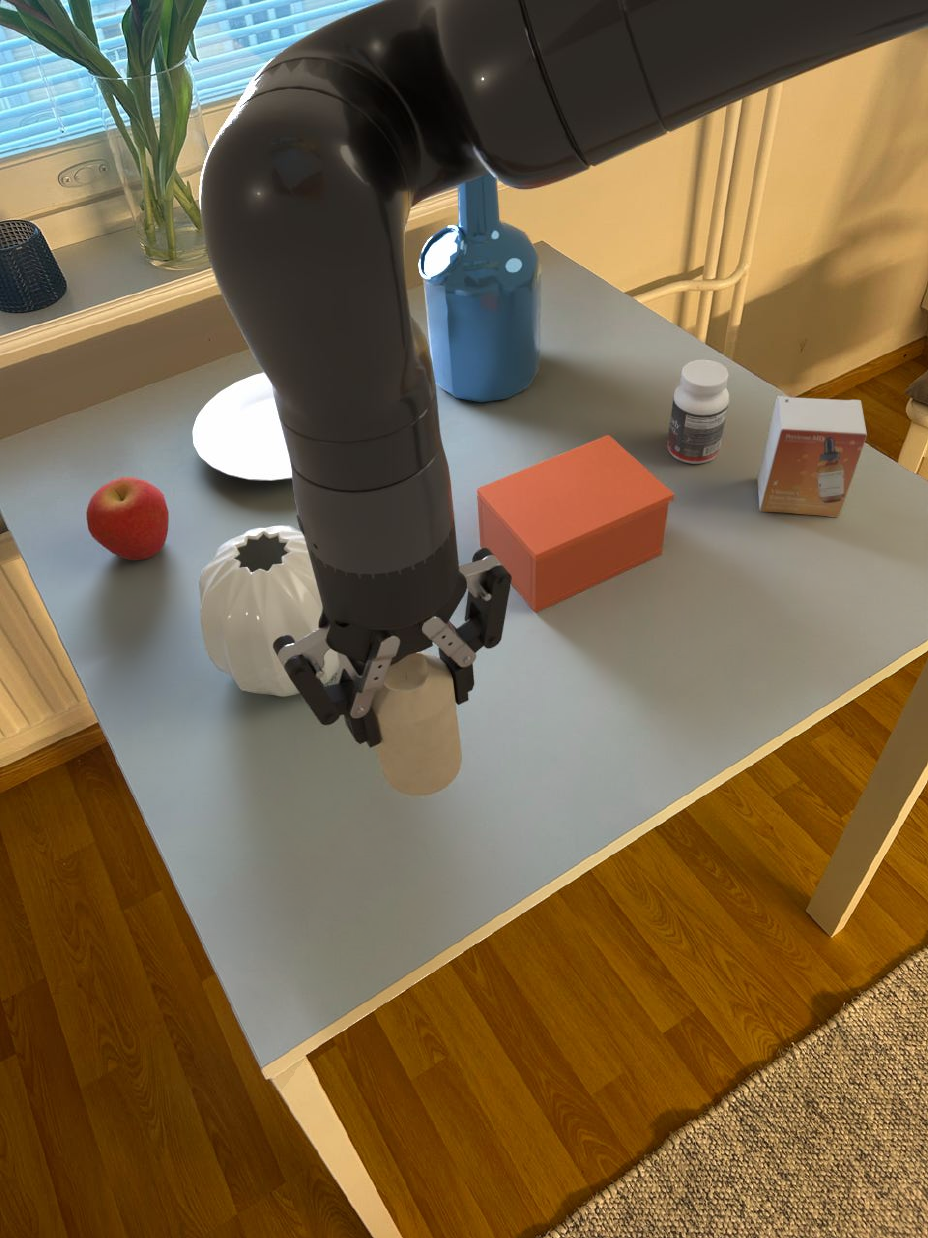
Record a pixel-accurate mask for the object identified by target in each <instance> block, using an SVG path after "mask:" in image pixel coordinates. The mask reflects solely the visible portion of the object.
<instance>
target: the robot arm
mask: <svg viewBox="0 0 928 1238" xmlns="http://www.w3.org/2000/svg"><path fill="white" fill-rule="evenodd" d="M927 28H928V0H381V1H379V2H375V3H374V4H370V5H367V6H365V7H363V8H361V9H359V10H356V11H353V12H351V13H349V14H347V15H345V16H342V17H341V18H338V19H336V20H333V21H331V22H329V23H327V24H325V25H323V26H321V27H320V28H318V29H316V30H314V31H312V32H311V33H309V34H307V35H305V36H304V37H302V38H300V39H299V40H297V41H295V42H294V43H292V44H291V45H289V46H288V47H286V48H285V49H283V50H282V51H281V52H279V53H278V54H277V55H275V56H274V57H273V58H271V59H270V60H269V61H268V62H267V63H265V65H264V66H263V67H261V69H260V70H259V71H258V72H257V73H256V74H255V76H254V77H253V78H252V80H251V81H250V82H249V84H248V85H247V87H246V89H245V90H244V91H243V93H242V95H241V96H240V98H239V101H238V102H237V104H236V105H235V107H234V108H233V110H232V112H231V113H230V115H229V116H228V117H227V119H226V121H225V123H224V124H223V126H222V127H221V128H220V130H219V132H218V133H217V134H216V136H215V139H214V140H213V142H212V144H211V146H210V148H209V150H208V152H207V155H206V157H205V160H204V164H203V167H202V170H201V171H202V172H201V176H200V185H199V210H200V222H201V228H202V233H203V239H204V245H205V249H206V253H207V257H208V262H209V264H210V267H211V271H212V274H213V277H214V279H215V282H216V284H217V287H218V290H219V291H220V293H221V296H222V298H223V300H224V302H225V304H226V306H227V308H228V310H229V312H230V314H231V316H232V318H233V319H234V322H235V323H236V326H237V327H238V329H239V331H240V333H241V334H242V336H243V338H244V340H245V342H246V344H247V346H248V348H249V350H250V352H251V354H252V356H253V357H254V360H255V361H256V362H257V364H258V366H259V367H260V369H261V371H262V373H265V375H266V376H267V378H268V379H269V381H270V383H271V384H272V389H273V395H274V399H275V404H276V408H277V412H278V416H279V420H280V424H281V428H282V431H283V435H284V439H285V443H286V447H287V451H288V455H289V459H290V464H291V471H292V478H291V480H292V483H291V484H292V492H293V493H292V494H293V498H294V503H295V507H296V519H297V523H298V527H299V531H300V532H302V534H303V535H304V538H305V542H306V545H307V549H308V553H309V557H310V560H311V564H312V568H313V572H314V575H315V579H316V583H317V587H318V591H319V594H320V598H321V602H322V607H323V608H322V613H321V616H320V619H319V623H318V627H319V628H318V629H316V630H315V631H313V632H311V633H310V634H308V635H306V636H305V637H303V638H301V639H300V640H298V641H296V642H295V640H294V638H293V637H292V636H290V635H283V636H280V637H279V638H277V639H276V640H275V641H274V643H273V649H274V651H275V653H276V654H277V656H278V658H279V660H280V662H281V663H282V665H283V667H284V669H285V671H286V672H287V674H288V676H289V678H290V680H291V681H292V682H293V684H294V685H295V687H296V688H297V690H298V691H299V692H300V693H299V694H300V695H301V697H302V699H303V700H304V701H305V703H306V704H307V706H308V707H309V709H310V710H311V712H312V713H313V714H314V716H315V717H316V719H317V720H318V721H319V723H320V724H321V725H322V726H329V725H330V726H331V725H332V724H334V723H336V722H337V721H338V720H339V719H340V716H343V718H344V721H345V725H346V726H347V729H348V730H349V732H350V734H351V735H352V737H353V739H354V741H355V742H356V743H358V745H362V744H364V743H366V744H367V745H368V747H369V749H372V748H373V747H375V746H376V745H378V744H380V743H381V741H380V737H379V733H378V728H377V724H376V720H375V716H374V711H373V709H372V708H371V703H372V700H373V697H374V694H375V691H377V690H381V689H382V687H383V684H384V681H385V678H386V675H387V672H388V669H389V666H391V665H393V664H395V663H397V662H399V661H400V660H402V659H403V658H405V657H406V656H408V655H410V654H414V653H417V652H421V651H425V650H428V649H430V648H432V647H434V644H435V645H436V646H437V648H438V655H439V657H438V658H440V659H441V660H442V661H443V662H444V663H445V664H446V665H447V666H448V668H449V670H450V672H451V674H452V678H453V685H454V693H455V702H456V706H457V705H458V706H460V705H462V704H464V703H467V702H468V701H469V692H471V691H473V690H474V686H475V675H474V665H473V663H474V662H475V661H476V660H477V652H478V651H479V650H481V649H482V648H483V647H484V648H485V649H487V650H488V649H493V648H495V647H497V646H498V645H499V644H500V642H501V640H502V639H503V638H502V637H503V631H504V625H505V619H506V616H507V615H506V614H507V608H508V604H509V603H508V602H509V597H510V591H511V590H510V589H511V586H512V584H511V579H512V576H511V574H510V573H509V572H508V571H507V570H506V569H505V567H504V566H503V565H502V563H501V562H500V561H499V560H498V559H497V557H496V556H494V554H493V553H492V552H491V551H490V550H489V549H488V548H479V549H478V550H477V551H476V552H475V553H474V554H473V556H472V559H471V562H469V563H465V564H461V565H460V562H459V561H460V560H459V553H458V542H457V533H456V522H455V521H456V520H455V512H454V511H455V510H454V503H453V492H452V481H451V473H450V468H449V463H448V458H447V455H446V452H445V448H444V444H443V439H442V434H441V425H440V416H439V415H440V414H439V405H438V404H439V403H438V395H437V386H436V384H437V383H436V381H435V377H434V370H433V363H432V359H431V354H430V346H429V343H428V341H427V337H426V335H425V333H424V331H423V330H422V328H421V326H420V324H419V323H418V322H417V321H416V320H415V319H414V318H413V317H412V316H411V310H410V303H409V302H410V301H409V295H408V288H407V275H406V273H407V272H406V251H405V250H406V243H405V242H406V241H405V240H406V229H407V225H408V220H409V216H410V213H411V209H412V208H413V207H415V206H417V205H418V204H419V203H421V202H423V201H424V200H426V199H428V198H430V197H432V196H434V195H436V194H438V193H440V192H443V191H445V190H448V189H451V188H454V187H456V186H458V185H459V184H462V183H465V182H468V181H471V180H474V179H477V178H480V177H483V176H485V175H488V174H492V175H493V176H494V177H495V178H496V179H497V181H499V182H500V183H502V184H503V185H505V186H507V187H511V188H513V189H517V190H534V189H538V188H542V187H546V186H550V185H552V184H556V183H559V182H562V181H564V180H567V179H569V178H572V177H574V176H577V175H579V174H582V173H583V172H584V173H585V172H586V171H588V170H590V168H591V167H598V166H600V165H601V164H603V163H605V162H608V161H610V160H612V159H615V158H617V157H619V156H621V155H623V154H625V153H628V152H630V151H632V150H635V149H636V148H639V147H641V146H643V145H645V144H648V143H650V142H652V141H654V140H657V139H659V138H661V137H664V136H665V135H667V134H668V133H672V132H674V131H677V130H678V129H681V128H683V127H685V126H687V125H689V124H691V123H694V122H696V121H698V120H700V119H702V118H704V117H707V116H709V115H711V114H713V113H716V112H717V111H719V110H722V109H724V108H726V107H728V106H731V105H733V104H735V103H738V102H740V101H742V100H744V99H747V98H749V97H751V96H753V95H755V94H758V93H760V92H763V91H765V90H767V89H770V88H772V87H775V86H777V85H779V84H781V83H784V82H787V81H789V80H792V79H795V78H797V77H799V76H801V75H804V74H807V73H809V72H812V71H814V70H816V69H818V68H821V67H824V66H826V65H829V64H831V63H833V62H834V63H835V62H836V61H839V60H842V59H844V58H847V57H850V56H852V55H855V54H857V53H860V52H863V51H865V50H868V49H871V48H873V47H876V46H879V45H881V44H884V43H886V42H890V41H893V40H895V39H898V38H901V37H904V36H907V35H909V34H913V33H916V32H918V31H921V30H924V29H927ZM466 592H467V598H466V606H465V612H464V621H465V622H464V623H462V624H461V625H459V626H458V627H456V626H455V625H454V623H452V621H450V620H451V619H452V616H453V615H454V613H455V612H456V610H457V608H458V606H459V604H460V603H461V601H462V600H463V598H464V596H465V595H466ZM329 649H332V650H333V651H336V652H338V656H339V660H340V666H339V669H338V672H336V676H335V680H334V683H332V684H328V685H325V684H323V683H322V682H321V680H320V679H319V678H321V677H322V676H323V675H324V672H323V670H322V668H323V667H324V664H325V661H324V655H325V653H326V652H327V651H328V650H329Z"/></svg>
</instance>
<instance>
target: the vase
mask: <svg viewBox="0 0 928 1238" xmlns="http://www.w3.org/2000/svg"><path fill="white" fill-rule="evenodd" d="M198 593H199V600H200V625H201V626H200V627H201V632H202V639H203V643H204V648H205V651H206V654H207V657H208V658H209V660H210V661H211V663H212V665H214V667H215V668H216V669H217V670H219V671H221V672H222V673H225V674H226V675H229V676H230V677H232V678H233V680H234V682H235V683H236V686H237V687H238V688H239V690H241V691H242V692H248V693H253V694H260V695H268V696H269V695H271V696H277V697H284V698H285V697H290V696H295V695H299V694H300V692H299V691H298V690H297V688H296V687H295V685H294V684H293V682H292V681H291V680H290V678H289V676H288V674H287V672H286V671H285V669H284V667H283V665H282V663H281V662H280V660H279V658H278V656H277V654H276V653H275V651H274V649H273V643H274V641H275V640H276V639H277V638H279V637H280V636H283V635H290V636H292V637H293V638H294V640H295V642H296V641H298V640H300V639H301V638H303V637H305V636H306V635H308V634H310V633H311V632H313V631H315V630H316V629H318V628H319V627H318V623H319V619H320V616H321V613H322V608H323V607H322V602H321V598H320V594H319V591H318V587H317V583H316V579H315V575H314V572H313V568H312V564H311V560H310V557H309V553H308V549H307V545H306V542H305V538H304V535H303V534H302V531H300V530H298V529H297V528H295V527H294V526H292V525H273V526H272V525H271V526H268V527H254V528H251V529H249V530H246V531H245V532H244V533H242V534H241V535H238V536H235V537H233V538H231V539H229V540H227V541H226V542H223V543H222V544H221V545H219V547H218V548H217V550H216V552H215V554H214V558H213V559H212V560H210V561H209V563H207V565H205V566H204V567H203V568H202V569H201V573H200V576H199V580H198ZM324 661H325V664H324V667H323V668H322V670H323V672H324V675H323V676H322V677H321V678H319V679H320V680H321V682H322V683H323V685H325V684H327V683H328V682H330V681H331V680H332V678H333V677H334V675H335V674H337V673H338V669H339V666H340V660H339V656H338V652H336V651H333V650H332V649H329V650H328V651H327V652H326V653H325V655H324Z"/></svg>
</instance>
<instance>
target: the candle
mask: <svg viewBox="0 0 928 1238" xmlns="http://www.w3.org/2000/svg"><path fill="white" fill-rule="evenodd" d="M371 708H372V709H373V711H374V716H375V720H376V724H377V728H378V733H379V737H380V741H381V743H380V744H378V745H376V746H374V747H375V750H376V755H377V758H378V762H379V766H380V771H381V772H382V775H383V777H384V779H385V781H386V782H387V783H388V784H389V785H390V786H391V787H392V788H393V789H394V790H396V791H397V792H400V793H402V794H404V795H408V796H412V797H425V796H430V795H434V794H436V793H439V792H441V791H442V790H444V789H445V788H447V787H448V786H450V785H451V784H452V782H454V781H455V779H456V777H457V776H458V775H459V772H460V769H461V765H462V758H463V756H462V744H461V736H460V729H459V721H458V712H457V704H456V702H455V693H454V685H453V678H452V674H451V672H450V670H449V668H448V666H447V665H446V664H445V663H444V662H443V661H442V660H441V659H440V657H438V656H437V655H435V654H433V653H431V652H428V651H425V650H423V651H421V652H417V653H414V654H410V655H408V656H406V657H405V658H403V659H402V660H400V661H399V662H397V663H395V664H393V665H391V666H389V669H388V672H387V675H386V678H385V681H384V684H383V687H382V689H381V690H377V691H375V694H374V697H373V700H372V703H371Z"/></svg>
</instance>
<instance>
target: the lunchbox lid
mask: <svg viewBox="0 0 928 1238" xmlns="http://www.w3.org/2000/svg"><path fill="white" fill-rule="evenodd" d="M476 495H477V496H479V497H480V498H481V500H482V501H483V502H484V503H485V504H486V505H487V506H488V508H489V509H490V510H491V511H492V512H493V513H494V514H495V515H496V517H497V518H498V519H499V520H500V521H501V522H502V523H503V525H504V526H505V527H506V528H507V529H508V530H509V531H510V532H511V534H512V535H513V536H514V537H515V538H516V539H517V540H518V542H519V543H520V544H521V545H522V546H523V547H524V548H525V549H526V551H527V552H528V553H529V554H530V555H531V556H532V557H533V559H534V560H535V561H538V560H540V559H542V558H545V557H547V556H549V555H551V554H554V553H556V552H558V551H560V550H562V549H565V548H567V547H569V546H571V545H574V544H576V543H578V542H580V541H583V540H585V539H587V538H589V537H592V536H594V535H596V534H598V533H601V532H603V531H605V530H607V529H610V528H612V527H614V526H616V525H619V524H621V523H623V522H625V521H628V520H630V519H632V518H634V517H637V516H639V515H641V514H643V513H646V512H648V511H650V510H652V509H655V508H657V507H659V506H661V505H664V504H666V503H670V502H673V501H674V499H675V493H674V492H673V491H672V490H671V489H669V488H668V487H667V486H666V485H665V484H664V483H663V482H661V480H660V479H658V477H656V476H655V475H654V474H653V473H652V472H650V470H648V469H647V468H646V467H645V466H644V465H643V464H642V463H641V462H639V460H637V459H636V458H635V457H634V456H633V455H632V454H631V453H629V452H628V451H627V450H626V449H625V448H624V447H623V446H622V445H621V444H619V442H617V441H616V440H615V439H614V438H613V437H612V436H611V435H609V434H607V435H604V436H601V437H599V438H597V439H594V440H592V441H590V442H587V443H585V444H582V445H580V446H578V447H575V448H572V449H570V450H568V451H565V452H563V453H559V454H558V455H556V456H553V457H551V458H548V459H545V460H543V461H541V462H539V463H535V464H534V465H531V466H529V467H527V468H526V467H525V468H524V469H521V470H518V471H516V472H514V473H512V474H509V475H507V476H504V477H501V478H499V479H497V480H494V481H493V482H492V481H491V482H490V483H487V484H485V485H483V486H480V487H478V488H476Z"/></svg>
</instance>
